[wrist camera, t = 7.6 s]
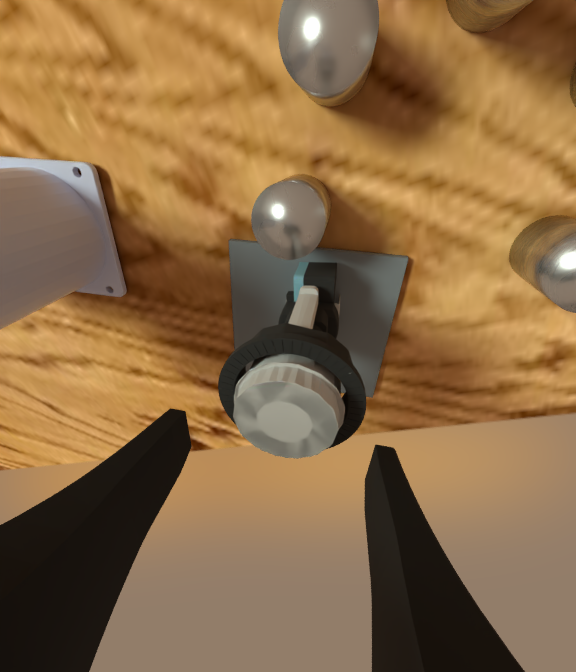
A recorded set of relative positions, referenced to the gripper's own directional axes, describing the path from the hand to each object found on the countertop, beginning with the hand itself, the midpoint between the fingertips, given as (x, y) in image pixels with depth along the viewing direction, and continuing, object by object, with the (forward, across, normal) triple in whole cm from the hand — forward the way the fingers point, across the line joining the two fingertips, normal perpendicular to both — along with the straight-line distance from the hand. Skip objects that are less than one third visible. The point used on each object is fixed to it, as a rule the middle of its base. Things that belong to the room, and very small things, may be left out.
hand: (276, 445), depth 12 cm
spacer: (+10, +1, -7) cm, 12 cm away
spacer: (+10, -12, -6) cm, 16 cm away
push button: (+10, 0, -1) cm, 10 cm away
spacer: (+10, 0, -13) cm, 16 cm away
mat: (+10, 0, 0) cm, 10 cm away
